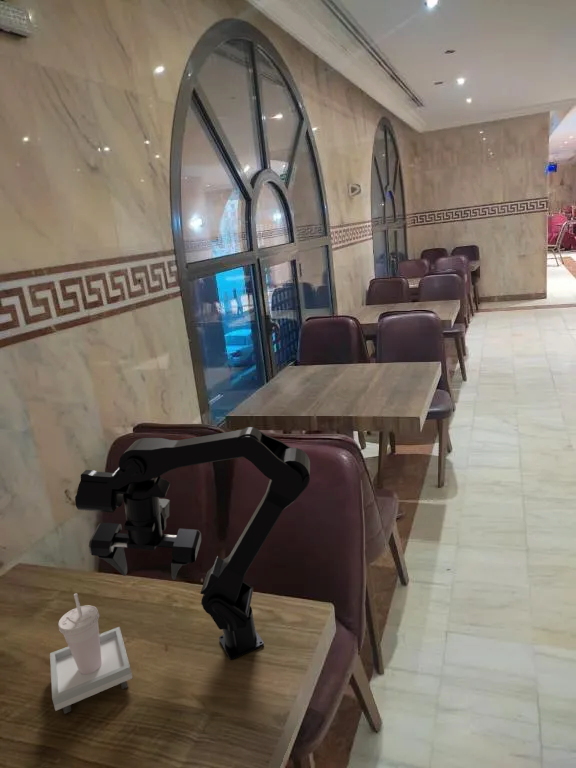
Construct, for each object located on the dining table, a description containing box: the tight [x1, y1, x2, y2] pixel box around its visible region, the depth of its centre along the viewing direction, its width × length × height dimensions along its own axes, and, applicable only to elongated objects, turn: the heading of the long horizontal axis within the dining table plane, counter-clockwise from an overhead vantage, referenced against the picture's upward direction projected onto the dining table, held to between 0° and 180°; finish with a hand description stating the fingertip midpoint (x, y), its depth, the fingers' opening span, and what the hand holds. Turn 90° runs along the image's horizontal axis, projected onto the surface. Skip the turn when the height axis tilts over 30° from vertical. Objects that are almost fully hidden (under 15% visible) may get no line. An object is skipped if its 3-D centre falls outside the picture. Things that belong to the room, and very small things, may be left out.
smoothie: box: [58, 592, 102, 675], centre depth 90 cm, size 6×6×14 cm
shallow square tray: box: [49, 626, 133, 714], centre depth 92 cm, size 12×12×4 cm
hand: (149, 575), depth 100 cm, fingers open, 9 cm apart
